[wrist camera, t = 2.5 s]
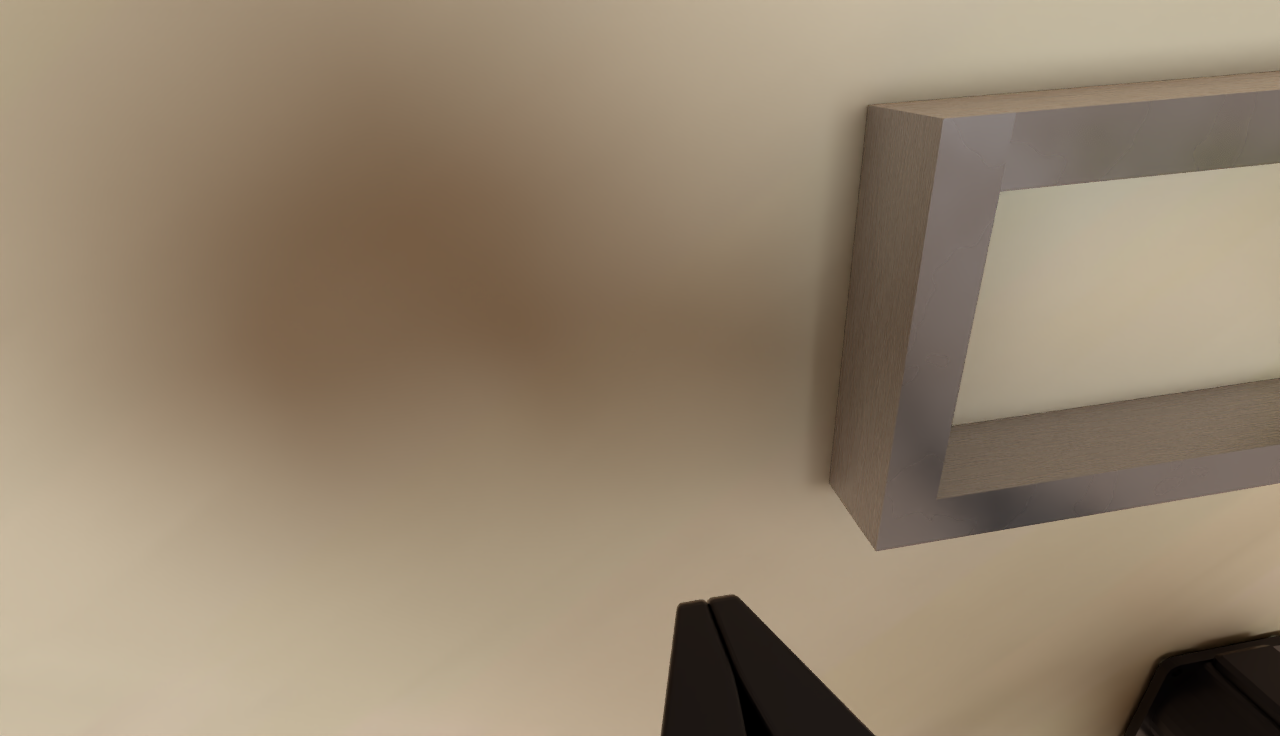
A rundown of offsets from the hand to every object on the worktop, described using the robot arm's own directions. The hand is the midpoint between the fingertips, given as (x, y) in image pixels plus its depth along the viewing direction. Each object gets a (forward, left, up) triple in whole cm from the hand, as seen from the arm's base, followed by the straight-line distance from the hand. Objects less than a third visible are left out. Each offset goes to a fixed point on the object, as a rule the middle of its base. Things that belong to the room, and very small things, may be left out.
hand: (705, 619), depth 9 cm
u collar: (0, -15, -9) cm, 17 cm away
